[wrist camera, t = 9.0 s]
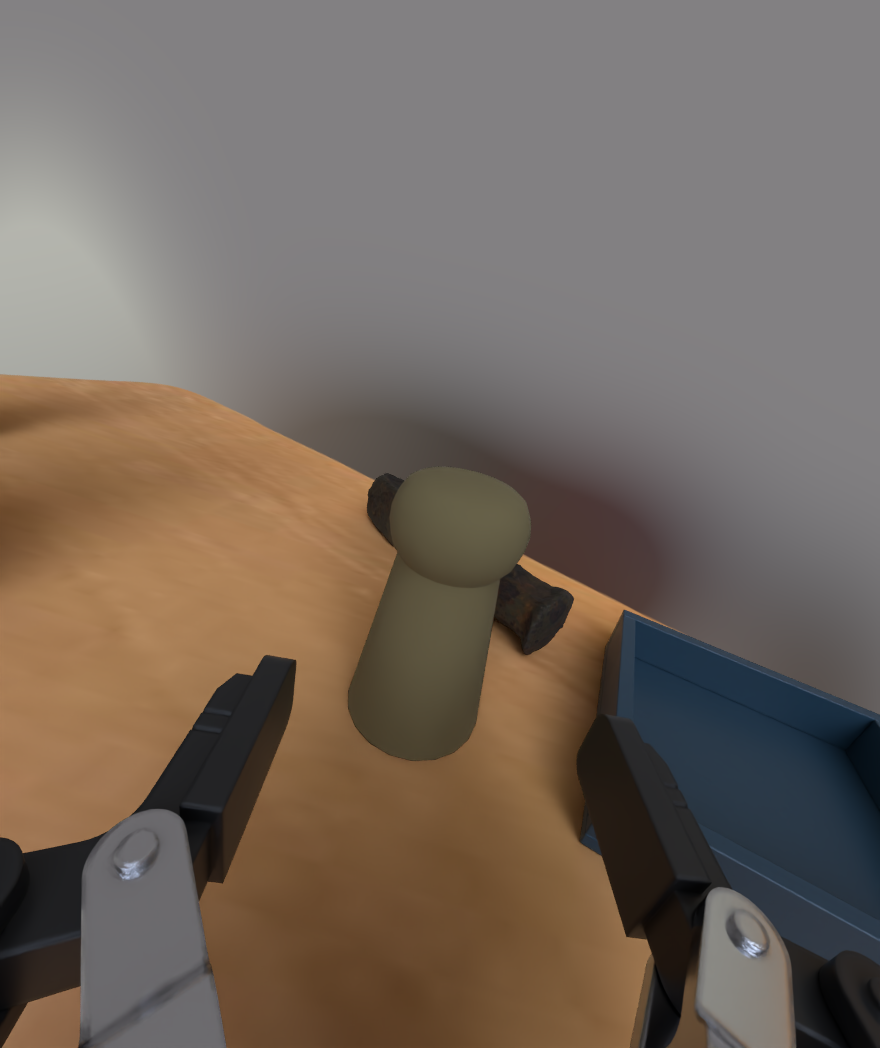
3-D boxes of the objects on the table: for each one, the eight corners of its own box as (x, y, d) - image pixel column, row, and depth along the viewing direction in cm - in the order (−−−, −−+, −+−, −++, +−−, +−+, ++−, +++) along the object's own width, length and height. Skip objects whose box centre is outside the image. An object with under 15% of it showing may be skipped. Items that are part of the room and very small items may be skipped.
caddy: (1059, 1133, 11) (1165, 1098, 10) (578, 843, 15) (611, 792, 14) (847, 755, 22) (884, 716, 21) (605, 646, 26) (623, 609, 25)
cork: (498, 698, 20) (576, 493, 16) (428, 792, 15) (512, 535, 11) (403, 635, 23) (446, 444, 18) (318, 699, 18) (349, 460, 13)
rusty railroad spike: (563, 643, 25) (590, 580, 23) (523, 665, 23) (551, 597, 21) (392, 513, 37) (401, 465, 36) (354, 518, 35) (361, 466, 33)
